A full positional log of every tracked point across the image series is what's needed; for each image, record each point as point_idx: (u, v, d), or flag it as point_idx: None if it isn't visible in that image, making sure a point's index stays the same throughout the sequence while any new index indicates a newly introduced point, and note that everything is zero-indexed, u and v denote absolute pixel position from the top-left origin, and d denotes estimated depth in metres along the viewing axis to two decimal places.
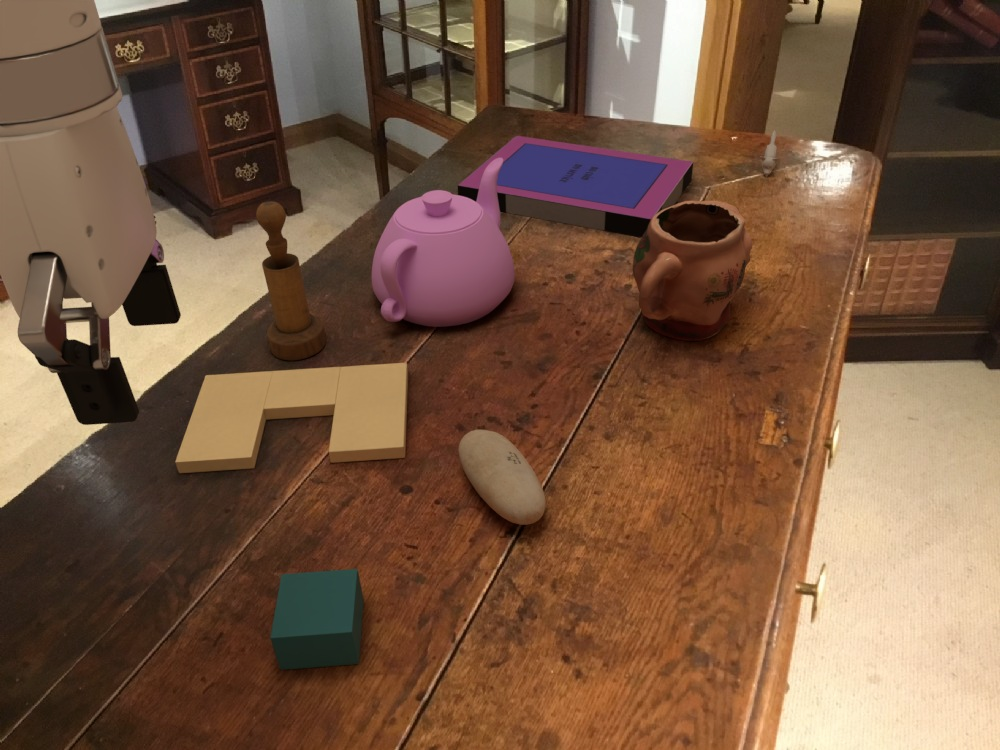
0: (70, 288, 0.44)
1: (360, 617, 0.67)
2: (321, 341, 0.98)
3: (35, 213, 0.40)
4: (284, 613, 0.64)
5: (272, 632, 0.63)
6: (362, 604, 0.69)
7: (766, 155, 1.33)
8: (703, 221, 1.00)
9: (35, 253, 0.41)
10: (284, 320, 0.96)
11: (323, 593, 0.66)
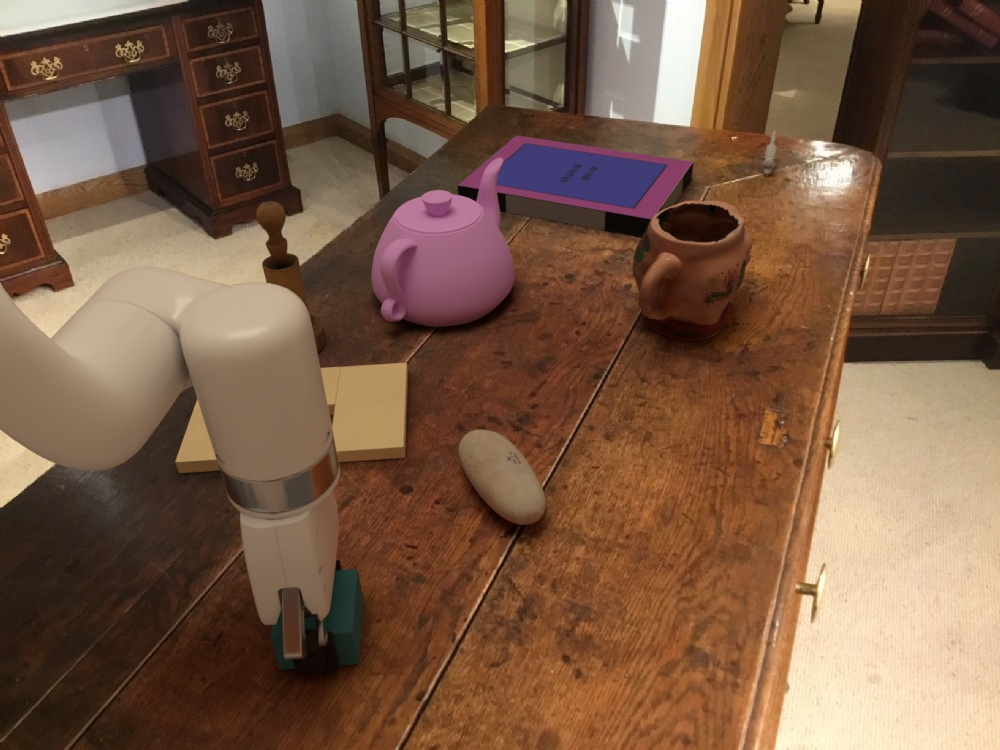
0: None
1: (360, 617, 0.67)
2: (321, 341, 0.98)
3: (287, 565, 0.55)
4: None
5: (272, 632, 0.63)
6: (362, 604, 0.69)
7: (766, 155, 1.33)
8: (703, 221, 1.00)
9: (283, 590, 0.57)
10: None
11: None
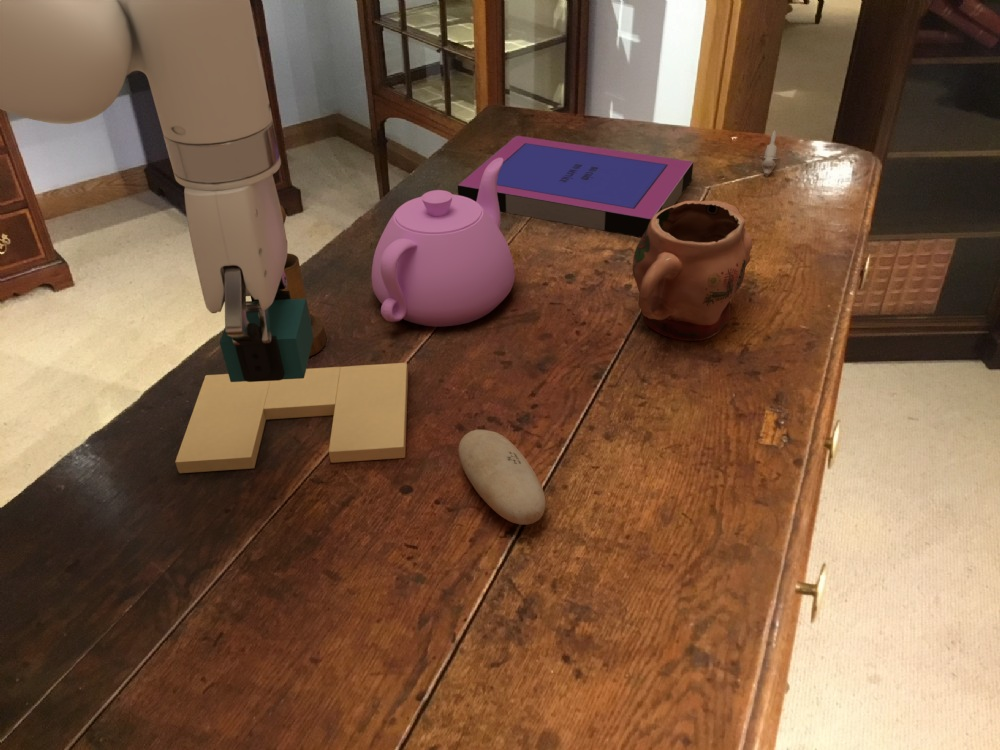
0: None
1: (308, 343, 0.72)
2: (321, 341, 0.98)
3: (228, 240, 0.60)
4: None
5: (222, 338, 0.67)
6: (311, 337, 0.73)
7: (766, 155, 1.33)
8: (703, 221, 1.00)
9: (226, 270, 0.61)
10: None
11: (272, 313, 0.70)
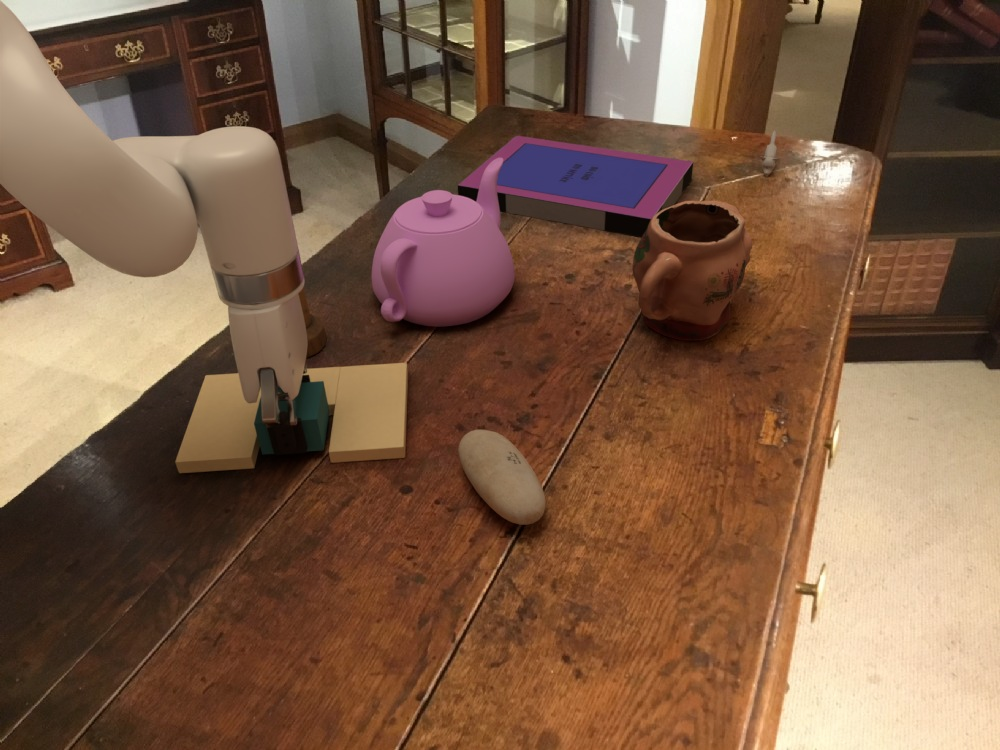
0: None
1: (325, 419, 0.85)
2: (321, 341, 0.98)
3: (264, 348, 0.74)
4: None
5: (255, 420, 0.81)
6: (328, 412, 0.87)
7: (766, 155, 1.33)
8: (703, 221, 1.00)
9: (261, 371, 0.75)
10: None
11: None
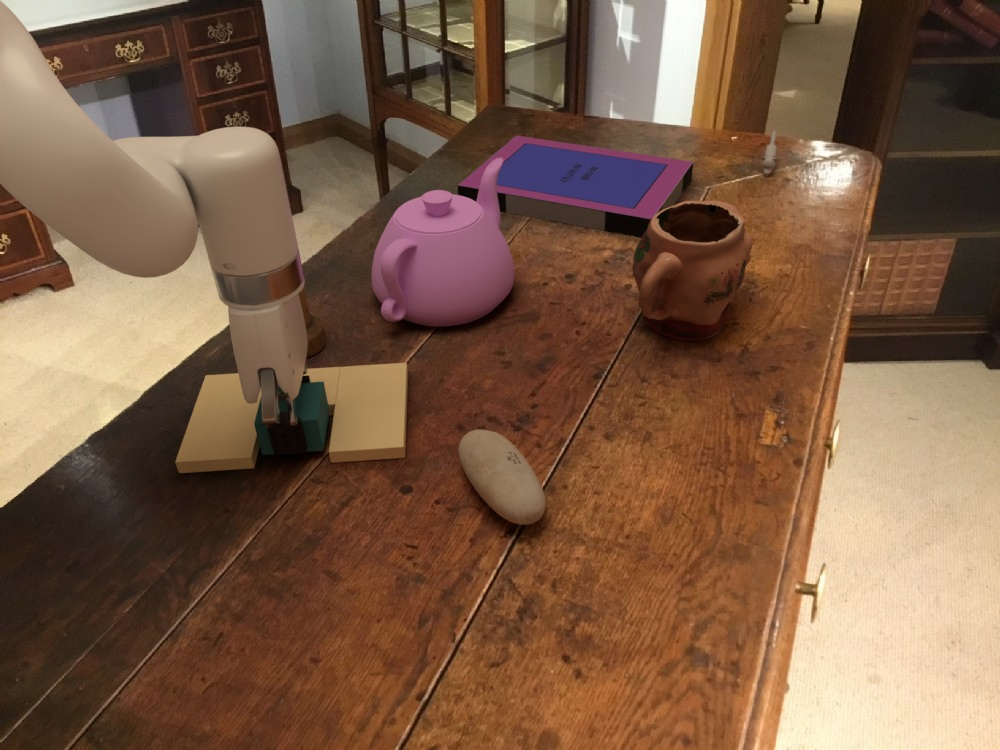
0: None
1: (326, 419, 0.85)
2: (321, 341, 0.98)
3: (264, 348, 0.74)
4: None
5: (255, 420, 0.81)
6: (328, 412, 0.87)
7: (766, 155, 1.33)
8: (703, 221, 1.00)
9: (261, 371, 0.75)
10: None
11: None
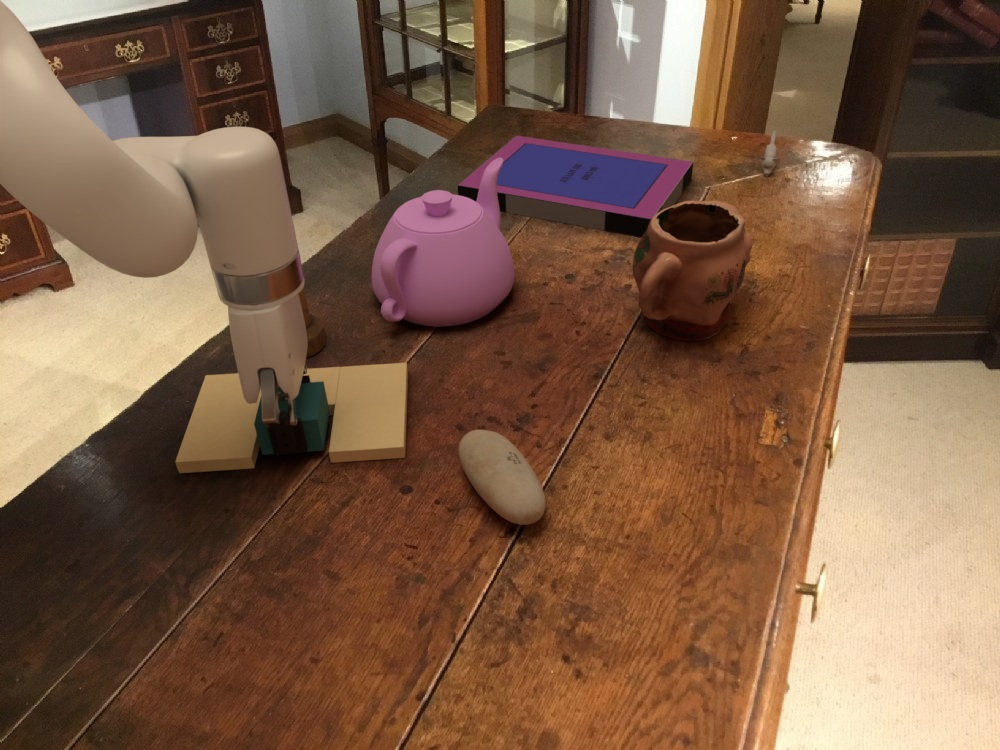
0: None
1: (325, 419, 0.85)
2: (321, 341, 0.98)
3: (264, 348, 0.74)
4: None
5: (255, 420, 0.81)
6: (328, 412, 0.87)
7: (766, 155, 1.33)
8: (703, 221, 1.00)
9: (261, 371, 0.75)
10: None
11: None
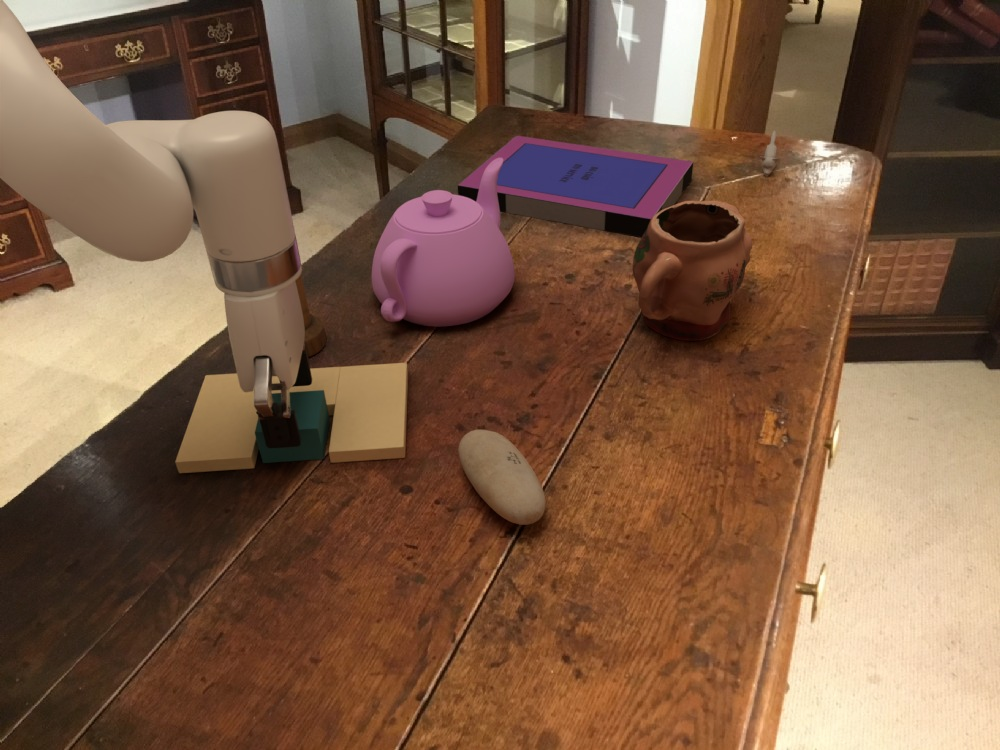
0: None
1: (326, 427, 0.86)
2: (321, 341, 0.98)
3: (260, 335, 0.73)
4: None
5: (256, 429, 0.82)
6: (328, 421, 0.88)
7: (766, 155, 1.33)
8: (703, 221, 1.00)
9: (257, 356, 0.74)
10: None
11: (296, 405, 0.84)
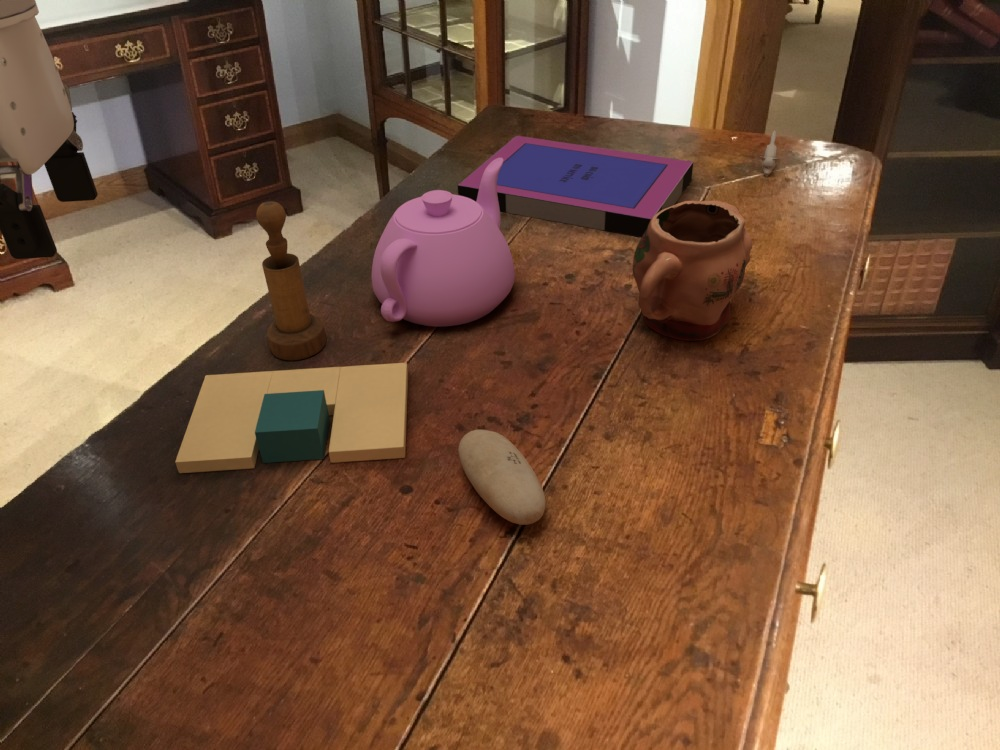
0: (3, 152, 0.61)
1: (326, 427, 0.86)
2: (321, 341, 0.98)
3: None
4: (266, 417, 0.83)
5: (256, 429, 0.82)
6: (328, 421, 0.88)
7: (766, 155, 1.33)
8: (703, 221, 1.00)
9: None
10: (285, 320, 0.96)
11: (296, 405, 0.84)
